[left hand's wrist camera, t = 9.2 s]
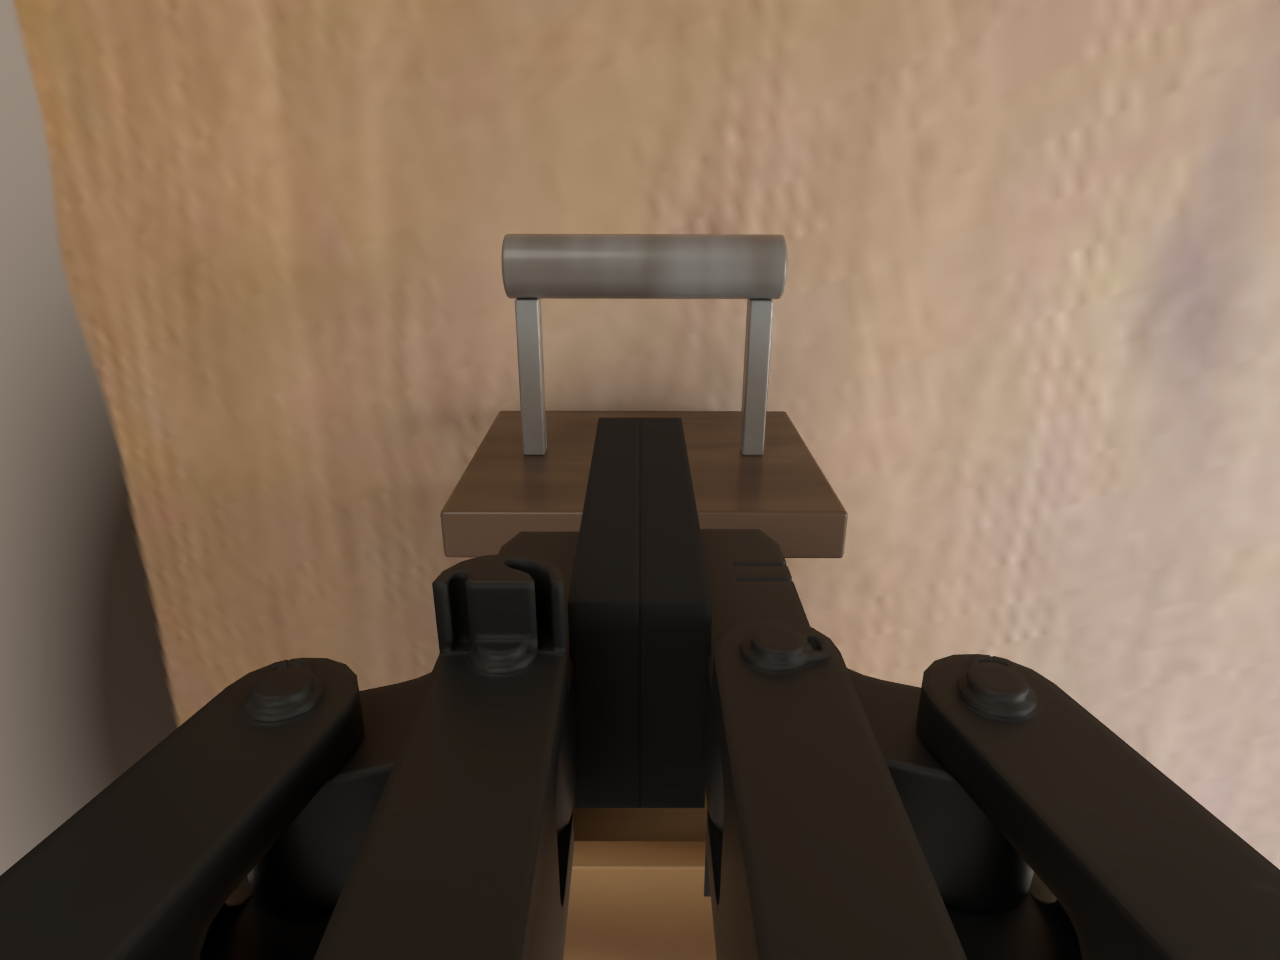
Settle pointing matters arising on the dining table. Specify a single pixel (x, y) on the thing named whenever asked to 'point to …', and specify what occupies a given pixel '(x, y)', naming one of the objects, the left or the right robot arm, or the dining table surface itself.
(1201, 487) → the dining table surface
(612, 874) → the cabinet
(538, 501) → the drawer
